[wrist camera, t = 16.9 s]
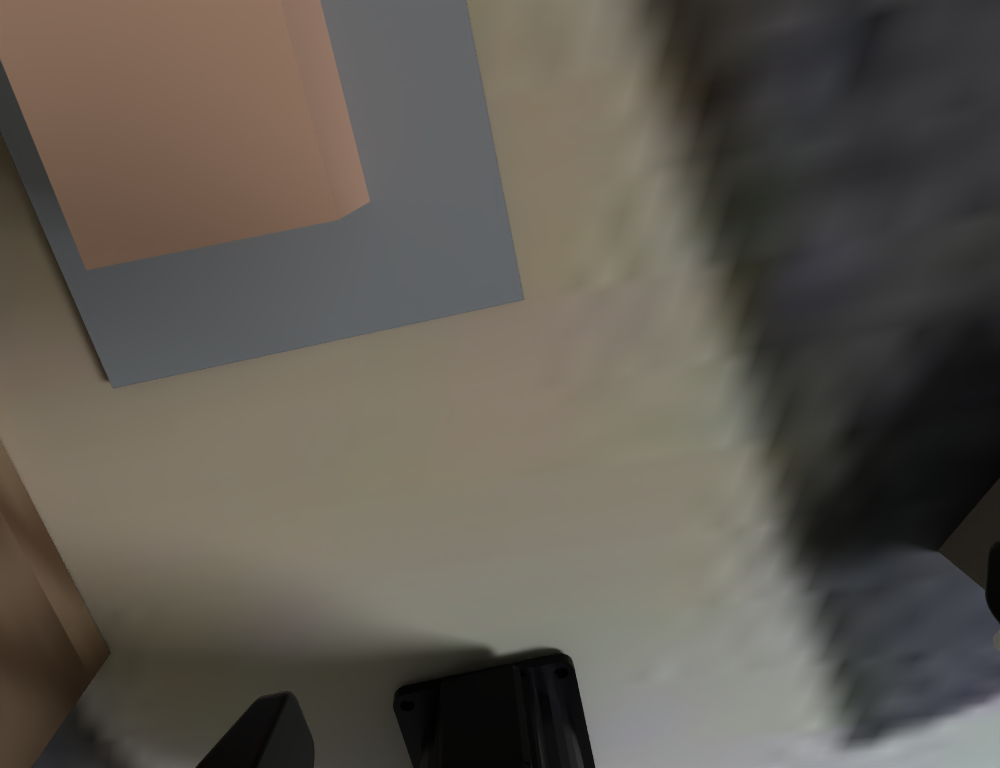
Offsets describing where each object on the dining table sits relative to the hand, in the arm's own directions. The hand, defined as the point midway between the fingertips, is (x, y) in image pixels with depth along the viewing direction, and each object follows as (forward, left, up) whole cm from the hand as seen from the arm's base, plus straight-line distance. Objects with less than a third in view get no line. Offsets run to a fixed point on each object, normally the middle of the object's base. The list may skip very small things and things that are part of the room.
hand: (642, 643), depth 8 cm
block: (+8, +6, -12) cm, 15 cm away
